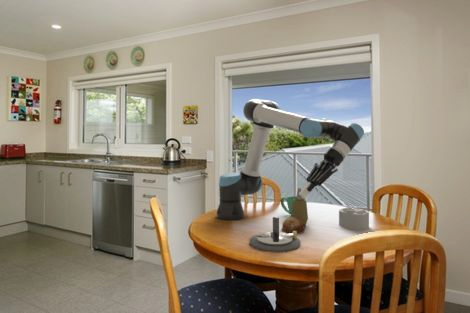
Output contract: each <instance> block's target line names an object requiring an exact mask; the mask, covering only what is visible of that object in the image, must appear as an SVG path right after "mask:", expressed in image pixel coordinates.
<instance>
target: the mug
mask: <svg viewBox="0 0 470 313" xmlns="http://www.w3.org/2000/svg"><path fill="white" fill-rule="evenodd" d="M284 200H285V201H286V204H287V206H286V205H285V203H284V202H285V201H284ZM293 200H295V196H287V197H285V196H283V197H282V198H280V206H281V207H282V209H283V210H284V211H285V213H287V214H289V215H290V216H291V213H292V203H293ZM304 200H306V198H305V199H304Z"/></svg>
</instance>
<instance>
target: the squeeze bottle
mask: <svg viewBox="0 0 470 313" xmlns="http://www.w3.org/2000/svg"><path fill="white" fill-rule="evenodd" d="M301 190H302V188H301V187H298V188H297V191H296V192H297V193H296V194H295V195H294V197H295V200H293V203H292V213H291V215H290V217H294V218H297V219H299V220H301V221H302V222H303V224H304V225H305V226H306V225H307V222H308V220H309V215H308V205H307V200H306V199H305V200H304V198H302V197H301V196H300V195H299V192H300V191H301Z"/></svg>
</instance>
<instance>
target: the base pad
mask: <svg viewBox="0 0 470 313" xmlns="http://www.w3.org/2000/svg"><path fill="white" fill-rule="evenodd" d="M297 234H298V233H297V231H293V238H292V242H291V243H290V244H287V245H280V246H272V245H265V244H262V243H260V242H258V241H257V235H258V234H256V235H253V236H251V237H250V238H249V245H250V246H251V247H252V248H253V249H257V250H259V251H263V252H271V253H272V252H273V253H280V252H281V253H283V251H285V252H291V251H294V250H297V249H298V248H300V247H301V240H300V239H299V238H298V236H297ZM290 250H291V251H290Z"/></svg>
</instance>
